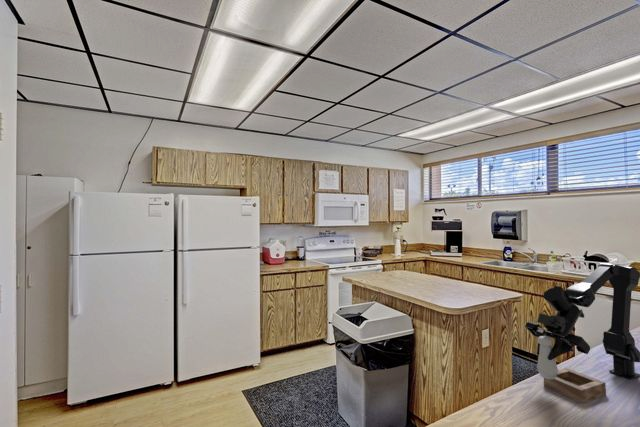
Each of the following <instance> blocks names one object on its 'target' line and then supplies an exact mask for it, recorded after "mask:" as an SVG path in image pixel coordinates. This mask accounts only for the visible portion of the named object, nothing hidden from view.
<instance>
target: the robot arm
mask: <svg viewBox="0 0 640 427" xmlns="http://www.w3.org/2000/svg"><path fill="white" fill-rule="evenodd" d="M639 280H640V271H639V270H637V268H636V267H634V266H625V265H618V264H615V263H607V262H602V263H598V265H597V267H596V268H595V269H594V270H593V271H591V273H589V275H587V277H585V278H584V280H582V281H581V282H579V283H576V284H575V283H574V284H572V285H570V286H569V287H566V288H565V289H564V288H563V287H562V286H561V285H554V287H551V288H548V289H547V290H545V291H544V292H543V299H544V300H545V301H546V302H547V303H548V304H549V305H550V307H551V308H553V310H555V311H557V312H556V313H555V315H554V314H552V315H549V314H546V313H545V314H544V313H542V312H539V314H538V316H537V321H536V322H537V323H536V322H532V321H527V322H526V324H525V325H524V328H525V329H526V330H527V331H528V332H529V333H530V334H531V335H532V336H534V337H536V338H538V337H540V336H547V337H550V338H552V339H553V340H554V344H553V346H552V350H551V352H550V353H549V356H548V359H549V360H552V359H554V358H555V359H556V358H558V357H560V356H561V355H564V354H566V353H569V352H574V347H575V348H576V349H575V350H577V351H578V352H579V353H582V354H585V355H588V354H590V353H589V352H590V351H591V345H589V343H588V342H587V341H586V340H585V338H583V337H582V336H579V335H575V334H574V333H571V332H575V331H576V328H575V326H576V323H577V321H578V320H579V318H583V319H584V318H585V313H584V312H583V309H582V308H590V307H591V305H592V304H593V303H594V301H595V300H596V293H597V292H598V291H599V290H600V289H601V288H602V287H604V285H605V284H607V282H609V284H610V285H611V287H612V288H613V292H612V306H611V308H612V309H611V321H610V324H611V325H610V328H609V329H608V330H606V331H605V330H604V331H603V334H602V335H603V339H602V345H603V347H604V350H605V354H606V355H610V356H612V360H613V362H612V364H613V366H612V367H613V368H612V369H609V370H608V372H609V373H612V374H613V375H614V374H615V375H617V376H620V377H622V378H626V379H627V380H628V379H629V380H633V379H635V378H638V377H640V373H637V372H636V370H635V369H636V367H635V363H640V350H639V349H638V348H637V347H636V340H635V339H634V337H633V335H632V333H631V332H630V323H631V322H630V321H631V307H632V305H631V304H632V293H633V292H632V291H634V290H635V289H636V288H637V287H638V285H639V282H640V281H639ZM579 307H582V308H579ZM539 323H540V324H542V325H543V326H541V325H540V324H539ZM544 328H545V329H544ZM539 349H540V344H539V343H538V342H537V350H536V355H537V356H538V357H539Z"/></svg>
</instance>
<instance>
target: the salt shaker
mask: <svg viewBox="0 0 640 427" xmlns="http://www.w3.org/2000/svg"><path fill="white" fill-rule="evenodd" d="M538 343H539V344H540V349H539V356H538V357H537V365H536V370H537V372H538V374H539V375H540V376H541V378H543V379H544V378H546V379H554V378H555V377H556V375H557V374H558V370H559V369H558V365H557V362H556V358H554V359H552V360H549V359H548V356H549V353H550V352H551V350H552V348H553V346H554V338H551V337H547V336H540V337H537V344H538Z"/></svg>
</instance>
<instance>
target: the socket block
mask: <svg viewBox="0 0 640 427" xmlns="http://www.w3.org/2000/svg"><path fill="white" fill-rule="evenodd" d="M543 386H544V387H545V386H546V388H548V389H550V390H552V391H554V392H557V393H559V394H561V395H563V396H565V397H568V398H570V399H572V400H574V401H576V402H579V403H580V404H585V403H587V402H590V401H593V400H595V399H599V398H601V397H604V396H606V395H607V389H606V386H607V385H606V382H605V381H602V380H600V379H597V378H594V377H591V376H589V375H587V374H583V373H581V372H579V371H575V370H573V369H570V368H568V367H565V368H564V367H563V368H561V369H558V374H557V375H556V377H555V378H554V379H546V378H543Z"/></svg>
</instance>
